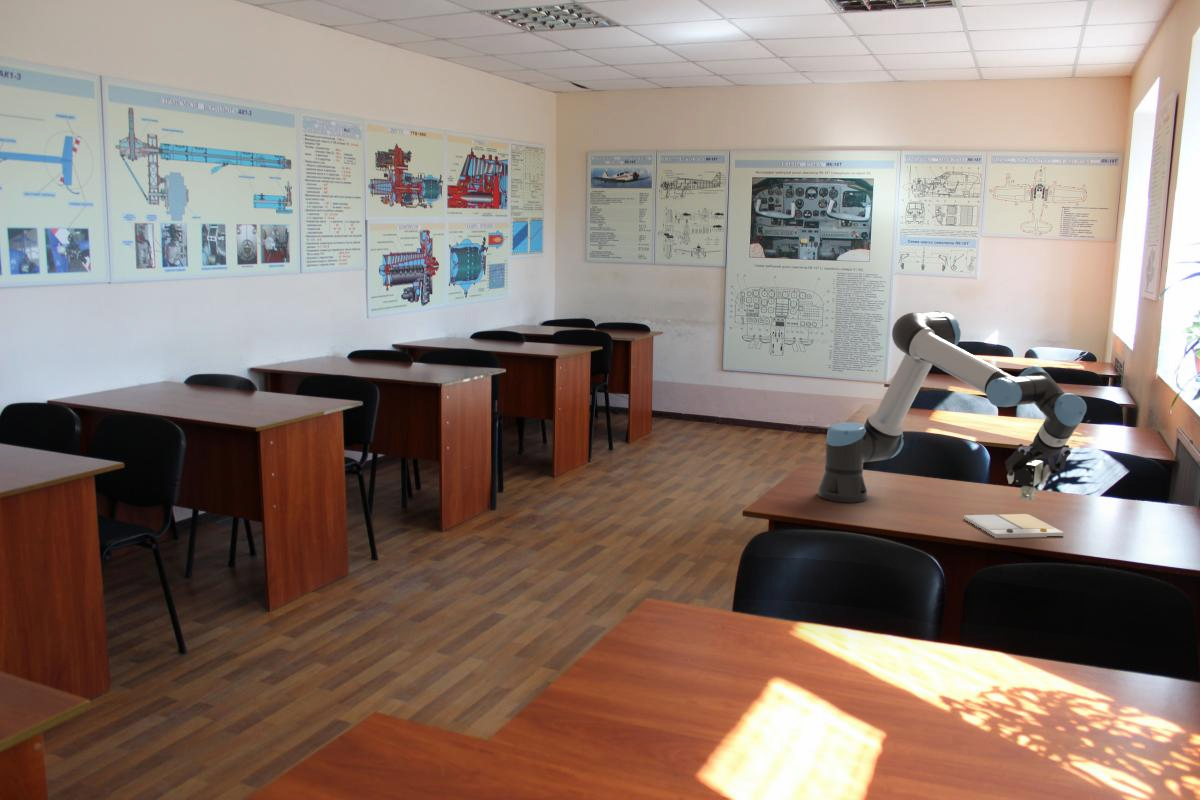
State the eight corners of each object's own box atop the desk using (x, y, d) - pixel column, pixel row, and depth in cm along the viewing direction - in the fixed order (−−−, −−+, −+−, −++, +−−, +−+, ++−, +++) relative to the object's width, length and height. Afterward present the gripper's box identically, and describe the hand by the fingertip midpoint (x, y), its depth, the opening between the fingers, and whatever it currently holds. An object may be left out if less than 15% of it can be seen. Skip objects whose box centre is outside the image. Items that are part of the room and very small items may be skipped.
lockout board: (963, 519, 280) (964, 512, 280) (1027, 518, 283) (1028, 511, 282) (995, 538, 263) (996, 530, 262) (1063, 536, 265) (1064, 529, 265)
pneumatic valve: (1041, 496, 276) (1045, 456, 274) (1029, 504, 267) (1033, 462, 265) (1021, 493, 280) (1024, 453, 278) (1009, 500, 271) (1013, 459, 269)
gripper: (1015, 447, 256) (990, 490, 275) (1095, 449, 255) (1065, 492, 273) (1009, 424, 261) (985, 468, 279) (1088, 426, 259) (1059, 470, 278)
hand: (1025, 480), depth 276 cm, fingers closed on pneumatic valve, 8 cm apart
